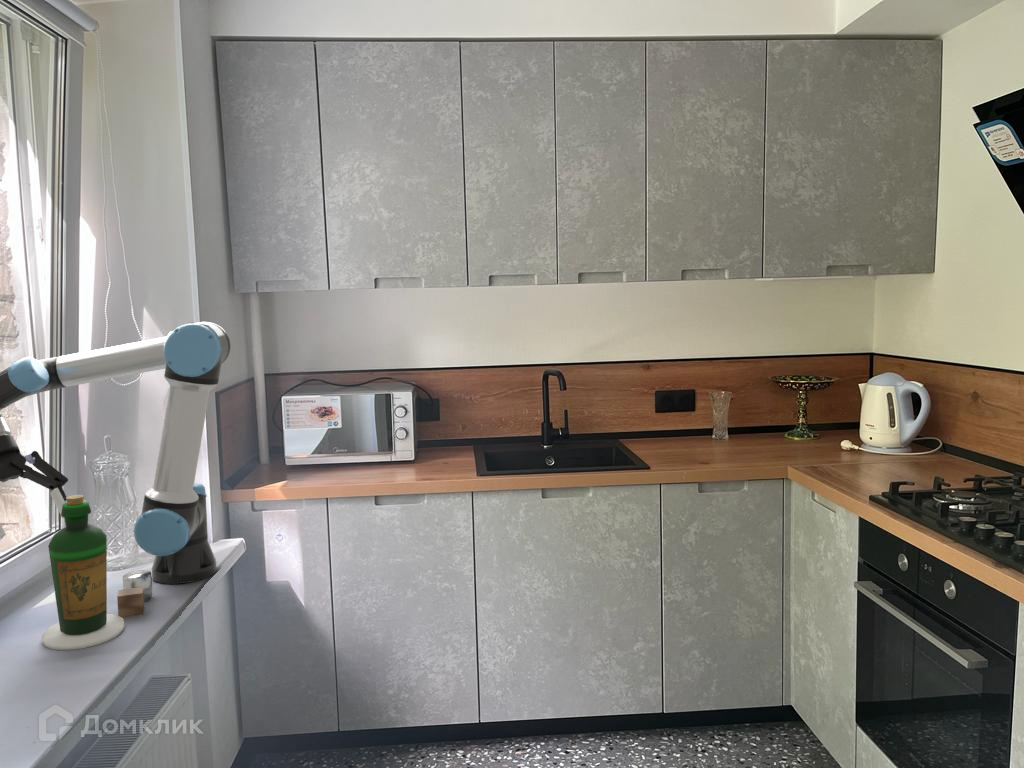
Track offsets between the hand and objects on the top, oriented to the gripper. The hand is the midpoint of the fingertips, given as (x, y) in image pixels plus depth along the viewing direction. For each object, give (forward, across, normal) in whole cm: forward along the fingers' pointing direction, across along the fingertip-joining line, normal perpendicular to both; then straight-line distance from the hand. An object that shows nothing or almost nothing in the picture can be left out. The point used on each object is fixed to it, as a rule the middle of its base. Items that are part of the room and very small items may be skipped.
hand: (35, 526), depth 168 cm
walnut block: (+26, +9, -1) cm, 28 cm away
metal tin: (+23, +15, +4) cm, 28 cm away
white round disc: (+26, -2, -3) cm, 26 cm away
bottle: (+25, -2, -3) cm, 25 cm away
